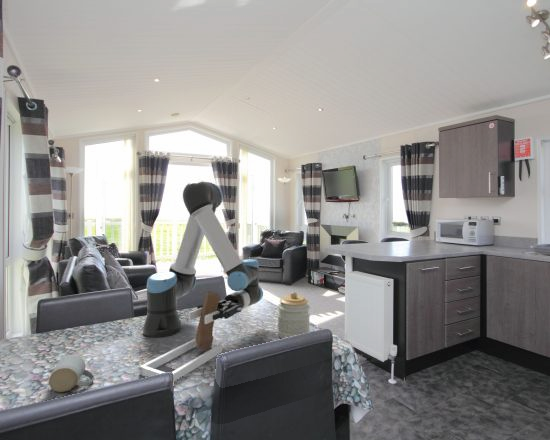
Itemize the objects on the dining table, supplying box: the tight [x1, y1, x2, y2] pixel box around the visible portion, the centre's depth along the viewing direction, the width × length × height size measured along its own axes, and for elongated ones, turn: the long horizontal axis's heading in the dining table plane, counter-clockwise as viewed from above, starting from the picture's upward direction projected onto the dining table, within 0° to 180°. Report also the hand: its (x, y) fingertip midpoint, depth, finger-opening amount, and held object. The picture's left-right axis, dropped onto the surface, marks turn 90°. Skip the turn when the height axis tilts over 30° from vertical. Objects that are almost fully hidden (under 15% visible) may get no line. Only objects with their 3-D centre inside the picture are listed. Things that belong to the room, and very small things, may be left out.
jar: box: [277, 291, 311, 339], centre depth 132 cm, size 13×13×18 cm
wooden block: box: [194, 291, 221, 351], centre depth 116 cm, size 9×4×18 cm, turn 19°
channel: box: [139, 338, 223, 383], centre depth 109 cm, size 12×25×2 cm, turn 151°
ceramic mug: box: [48, 354, 95, 393], centre depth 95 cm, size 11×8×8 cm
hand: (197, 318), depth 113 cm, fingers closed on wooden block, 7 cm apart
